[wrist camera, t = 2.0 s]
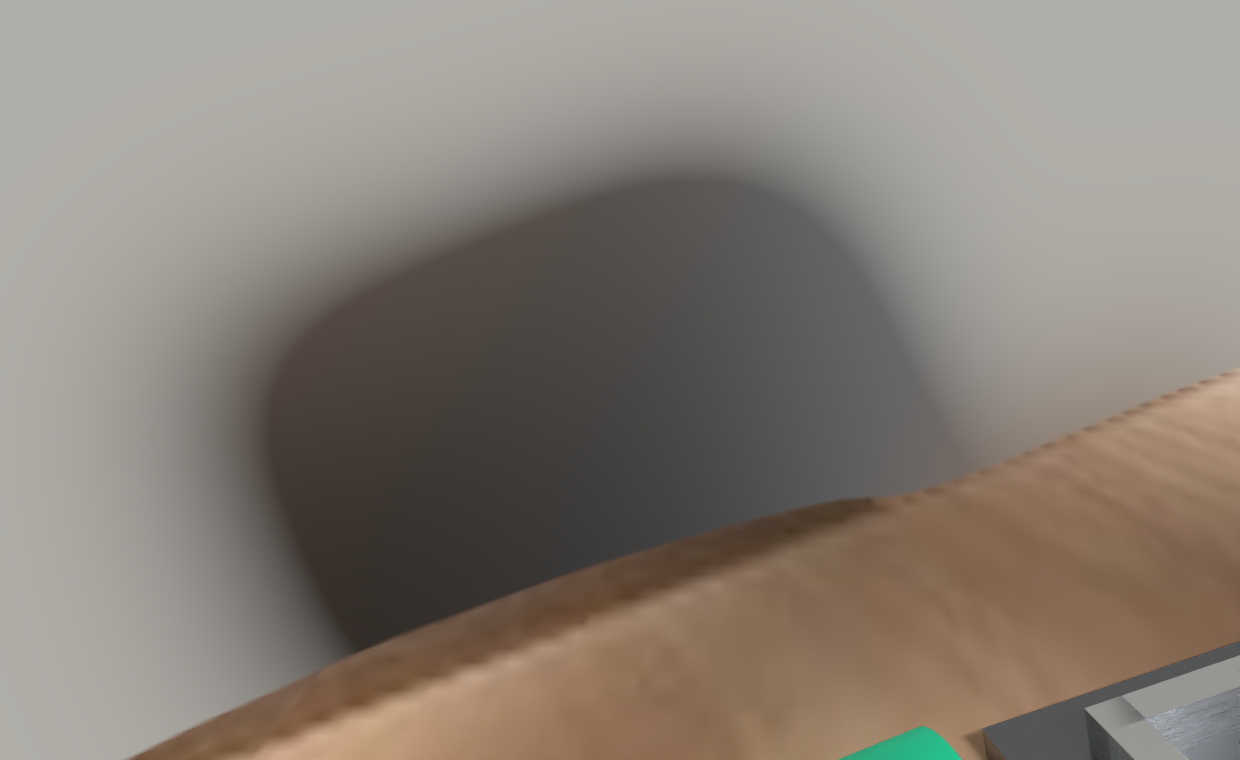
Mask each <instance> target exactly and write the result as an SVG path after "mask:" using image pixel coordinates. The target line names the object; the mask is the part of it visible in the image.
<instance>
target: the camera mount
mask: <svg viewBox="0 0 1240 760" xmlns="http://www.w3.org/2000/svg"><path fill="white" fill-rule="evenodd" d="M839 760H962V759H961V758H960V757H959V755H958V754H957V753H956V752H955V750H954V749H953V748H952V747H951V746H950V745H949V744H948V743H947V742H946V741H945V740H944V739H943V738H942V737H941V736H940V735H939V734H938V733H936V732H935V731H933V730H932V729H930V728H928V727H924V726H920V727H918V728H915V729H913V730H910V731H908V732H905V733H903V734H900V735H898V736H895V737H893V738H891V739H888V740H886V741H883V742H881V743H878V744H876V745H873V746H871V747H868V748H866V749H863V750H861V751H858V752H856V753H854V754H851V755H849V756H846V757H844V758H841V759H839Z"/></svg>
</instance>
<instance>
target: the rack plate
mask: <svg viewBox="0 0 1240 760" xmlns="http://www.w3.org/2000/svg"><path fill="white" fill-rule="evenodd" d="M983 735H984V741H985V747H986V753H987V755H988V756H989V758H990V759H991V760H1240V642H1237V643H1234V644H1231V645H1228V646H1225V647H1222V648H1219V649H1216V650H1213V651H1210V652H1207V653H1204V654H1201V655H1198V656H1195V657H1193V658H1190V659H1187V660H1184V661H1181V662H1178V663H1175V664H1172V665H1169V666H1166V667H1163V668H1160V669H1157V670H1154V671H1151V672H1148V673H1145V674H1142V675H1140V676H1137V677H1134V678H1131V679H1128V680H1125V681H1122V682H1119V683H1116V684H1113V685H1110V686H1107V687H1104V688H1101V689H1098V690H1095V691H1092V692H1089V693H1087V694H1084V695H1081V696H1078V697H1075V698H1072V699H1069V700H1066V701H1063V702H1060V703H1057V704H1054V705H1051V706H1048V707H1045V708H1042V709H1039V710H1037V711H1034V712H1031V713H1028V714H1025V715H1022V716H1019V717H1016V718H1013V719H1010V720H1007V721H1004V722H1001V723H998V724H995V725H992V726H989V727H986V728H984V729H983Z"/></svg>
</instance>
